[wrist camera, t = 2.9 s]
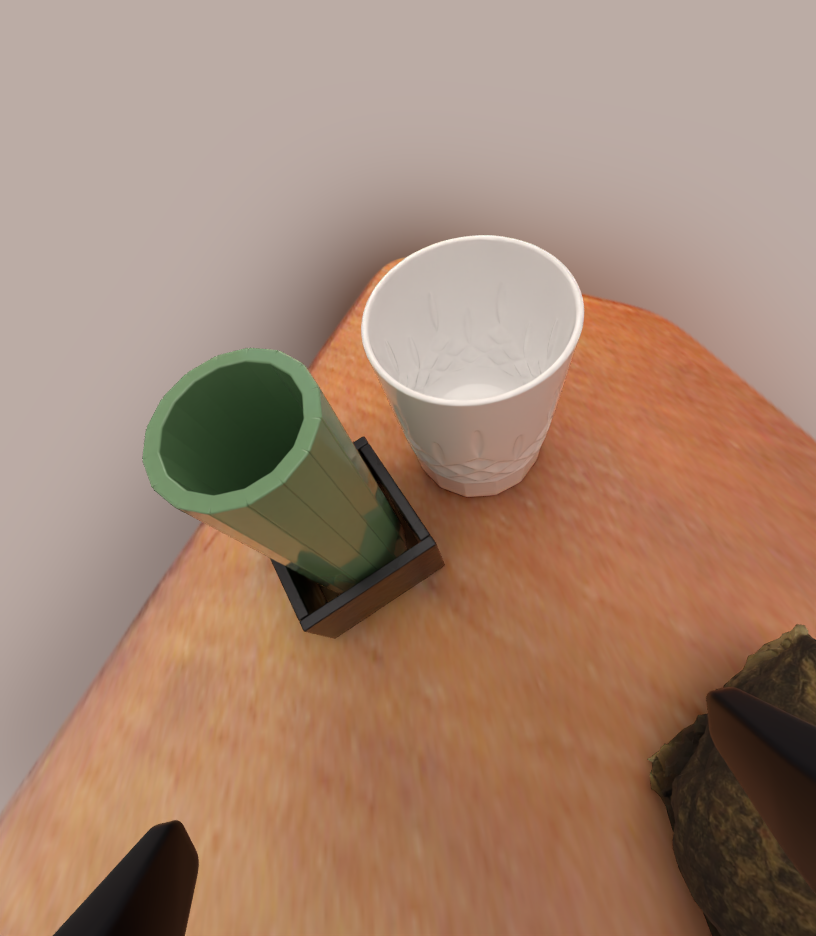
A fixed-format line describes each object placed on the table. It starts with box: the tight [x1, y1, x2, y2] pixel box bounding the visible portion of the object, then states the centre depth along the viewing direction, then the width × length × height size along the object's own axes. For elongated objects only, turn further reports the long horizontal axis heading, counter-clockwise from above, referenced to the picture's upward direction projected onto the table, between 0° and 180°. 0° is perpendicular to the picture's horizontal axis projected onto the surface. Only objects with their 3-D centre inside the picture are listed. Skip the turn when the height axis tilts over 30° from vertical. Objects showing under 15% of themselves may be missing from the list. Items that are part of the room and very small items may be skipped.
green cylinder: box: [142, 348, 407, 594], centre depth 18 cm, size 5×5×13 cm
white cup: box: [361, 235, 584, 497], centre depth 20 cm, size 8×8×10 cm
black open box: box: [270, 436, 445, 639], centre depth 22 cm, size 6×6×4 cm
